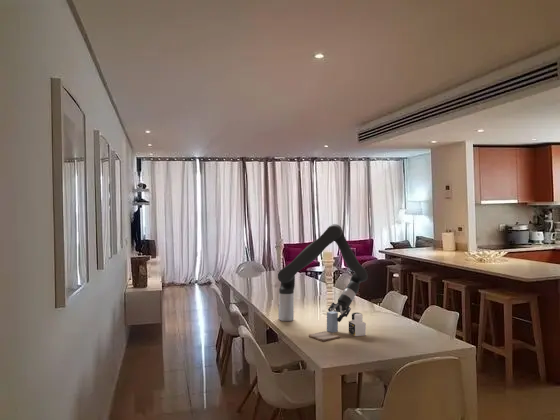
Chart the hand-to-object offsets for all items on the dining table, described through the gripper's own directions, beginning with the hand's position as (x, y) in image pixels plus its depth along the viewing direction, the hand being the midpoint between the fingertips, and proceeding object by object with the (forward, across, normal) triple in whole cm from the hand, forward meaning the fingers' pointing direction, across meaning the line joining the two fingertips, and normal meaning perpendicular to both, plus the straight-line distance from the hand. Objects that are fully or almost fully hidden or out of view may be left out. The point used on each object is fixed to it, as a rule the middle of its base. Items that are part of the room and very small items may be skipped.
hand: (333, 319), depth 263 cm
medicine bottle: (0, +13, +9) cm, 16 cm away
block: (+5, 0, +4) cm, 7 cm away
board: (+14, +6, -4) cm, 15 cm away
